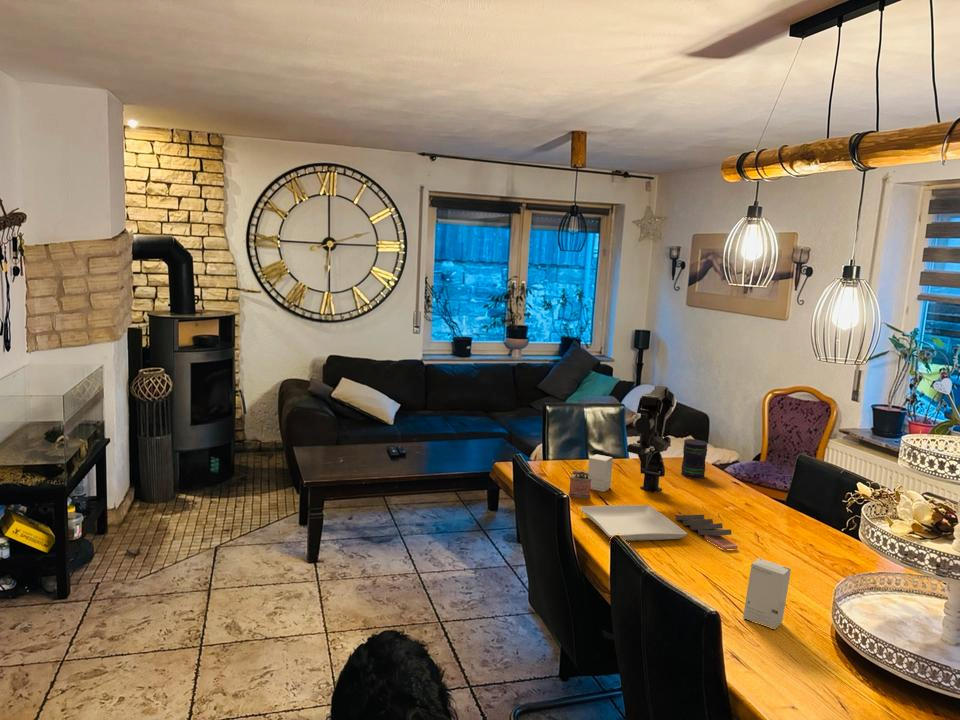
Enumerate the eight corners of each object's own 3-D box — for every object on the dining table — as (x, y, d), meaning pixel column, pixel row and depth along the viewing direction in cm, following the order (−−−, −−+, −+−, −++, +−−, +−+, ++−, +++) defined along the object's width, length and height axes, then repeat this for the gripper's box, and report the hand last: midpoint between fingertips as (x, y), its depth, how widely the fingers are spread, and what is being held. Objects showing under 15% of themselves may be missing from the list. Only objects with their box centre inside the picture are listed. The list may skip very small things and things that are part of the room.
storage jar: (707, 479, 299) (710, 445, 297) (684, 478, 299) (687, 444, 298) (700, 472, 309) (703, 439, 307) (678, 471, 309) (681, 438, 307)
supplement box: (611, 488, 280) (613, 457, 278) (603, 492, 274) (606, 460, 272) (593, 484, 284) (596, 453, 282) (586, 488, 278) (588, 457, 276)
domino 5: (704, 535, 230) (724, 546, 220) (717, 534, 231) (737, 545, 222) (704, 540, 230) (723, 551, 221) (717, 538, 231) (737, 550, 222)
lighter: (589, 496, 268) (591, 470, 267) (590, 498, 265) (592, 473, 264) (568, 494, 269) (570, 468, 268) (568, 497, 266) (570, 471, 264)
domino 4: (697, 529, 234) (718, 530, 225) (709, 528, 236) (731, 529, 227) (698, 534, 233) (719, 535, 224) (710, 533, 235) (731, 534, 226)
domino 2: (682, 520, 242) (699, 519, 233) (694, 519, 244) (712, 518, 235) (683, 525, 242) (700, 524, 233) (695, 524, 243) (713, 523, 234)
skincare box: (742, 619, 177) (748, 563, 175) (750, 611, 181) (757, 556, 179) (777, 632, 171) (783, 573, 169) (784, 623, 176) (791, 566, 174)
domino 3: (689, 525, 237) (709, 524, 229) (701, 524, 239) (721, 523, 231) (690, 530, 237) (710, 529, 228) (702, 529, 239) (722, 528, 230)
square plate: (609, 546, 220) (610, 534, 220) (577, 516, 247) (578, 505, 246) (687, 543, 227) (689, 531, 226) (648, 513, 253) (649, 503, 253)
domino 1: (675, 515, 247) (691, 515, 238) (687, 514, 248) (704, 514, 239) (675, 520, 247) (691, 519, 237) (688, 519, 248) (704, 519, 239)
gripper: (653, 435, 252) (649, 477, 254) (680, 429, 265) (676, 469, 267) (627, 429, 260) (623, 470, 262) (654, 423, 273) (651, 462, 275)
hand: (644, 468), depth 267 cm, fingers closed
